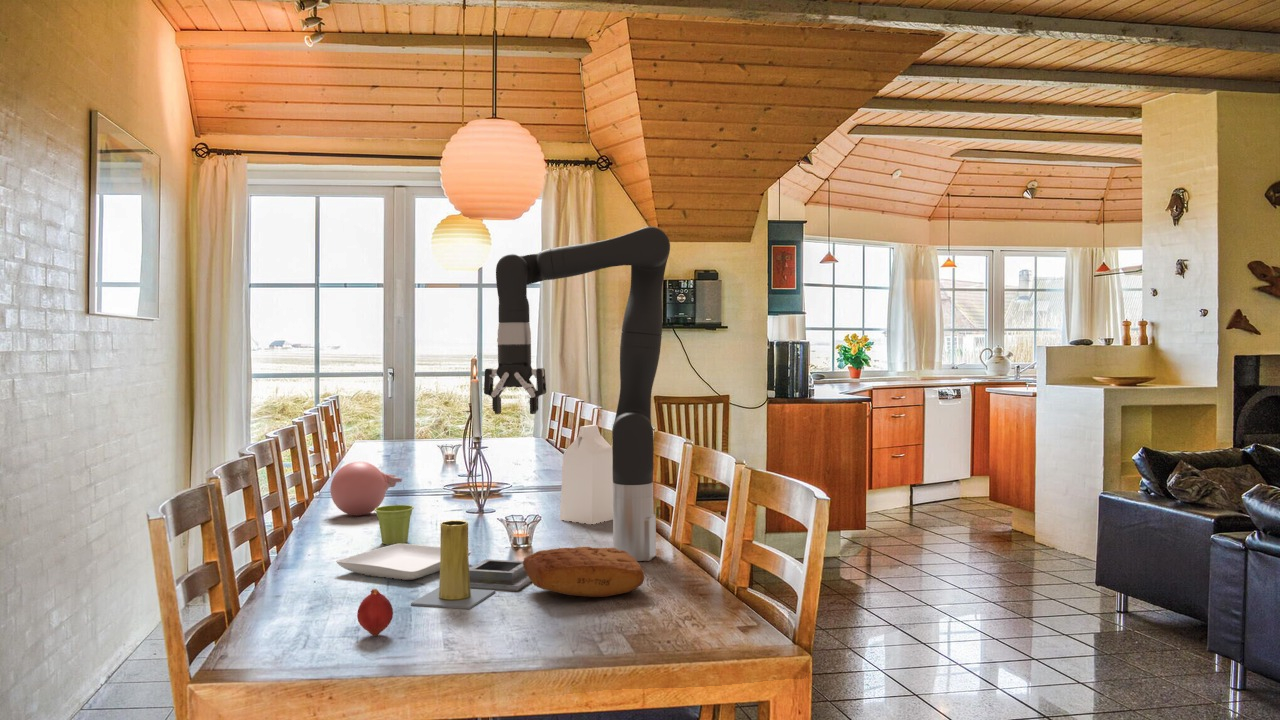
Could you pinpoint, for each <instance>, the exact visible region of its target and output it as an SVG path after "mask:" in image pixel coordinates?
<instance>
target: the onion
mask: <svg viewBox="0 0 1280 720" xmlns="http://www.w3.org/2000/svg"><path fill="white" fill-rule="evenodd" d="M393 615H394V609H393V605H392V603H391V601H390V599H388V598H387V597H386V596H385V595H384V594H382V593H381V592H380V591H379V590H378V589H377V588H373V589H371V590H370V594H368V595H367V596H366V597H364V598H363V600H362V601H361V602H360V604H359V606H358V609H357V615H356V617H357V621H358V623H359V625H360V626H361V628H363V629H364V630H365V631H367V632H368V633H370V635H371V636H375V637H376V636H378V635H380V634H381V633H382V632H383V631H385V630H386V629H387V628H388V627H389V625H390V623H391V622H392V621H393V620H392V619H393Z"/></svg>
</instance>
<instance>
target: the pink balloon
mask: <svg viewBox="0 0 1280 720" xmlns="http://www.w3.org/2000/svg"><path fill="white" fill-rule="evenodd" d="M402 482H403V479H402V477H397V476H395V475H394V474H393V473H391V474H388V473H386V472H385V473H384V472H382V471H381V470H380V469H379V468H378V467H376V466H375V465H373V464H371V463H369V462H365V461H353V462H349V463H347V464H345V465H343V466H342V467H341V468H340V469H338V470H337V472H336V473H335V475H334V476H333V477H332V479H331V483H330V496H331V499H332V502H333V504H334V506H336V507H337V508H338V510H340V511H341V512H343V513H344V514H347V515H349V516H356V517H359V516H366V515H368V514H371V513H372V512H375V508H378V507H380V505H381V504H382V503H383V501H384V499H385V497H386V493H387V491H388V489H390V488H394V487H396V485H397V483H402Z"/></svg>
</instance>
